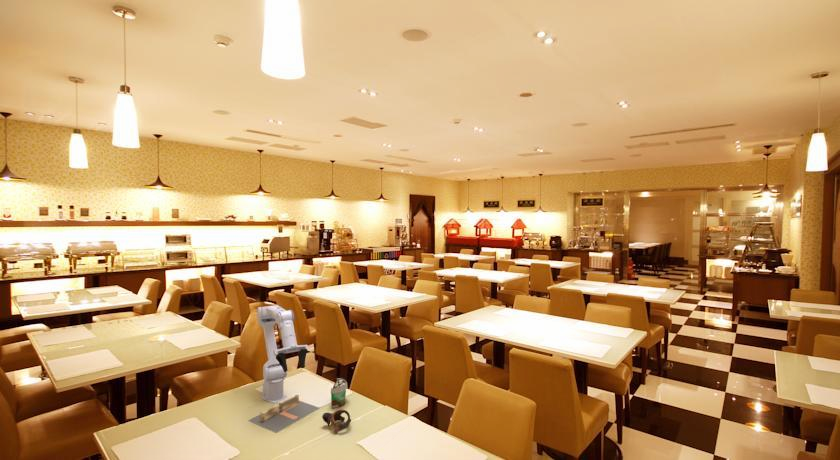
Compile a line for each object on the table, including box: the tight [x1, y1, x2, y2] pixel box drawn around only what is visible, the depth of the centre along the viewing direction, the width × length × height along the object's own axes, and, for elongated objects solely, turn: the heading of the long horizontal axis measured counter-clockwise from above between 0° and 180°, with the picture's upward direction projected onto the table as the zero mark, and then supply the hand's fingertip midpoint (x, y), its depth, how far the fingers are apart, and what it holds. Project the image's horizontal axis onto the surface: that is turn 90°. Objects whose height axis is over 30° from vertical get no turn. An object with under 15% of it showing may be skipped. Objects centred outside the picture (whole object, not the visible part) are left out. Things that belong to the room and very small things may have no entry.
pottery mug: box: [321, 408, 352, 434], centre depth 165 cm, size 12×10×8 cm
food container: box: [330, 377, 349, 409], centre depth 185 cm, size 12×6×10 cm, turn 179°
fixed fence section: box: [278, 394, 300, 413], centre depth 181 cm, size 2×11×4 cm, turn 149°
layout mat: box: [247, 400, 320, 434], centre depth 175 cm, size 18×24×1 cm
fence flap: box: [259, 404, 279, 422], centre depth 172 cm, size 9×2×4 cm, turn 149°
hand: (294, 369), depth 168 cm, fingers open, 7 cm apart
